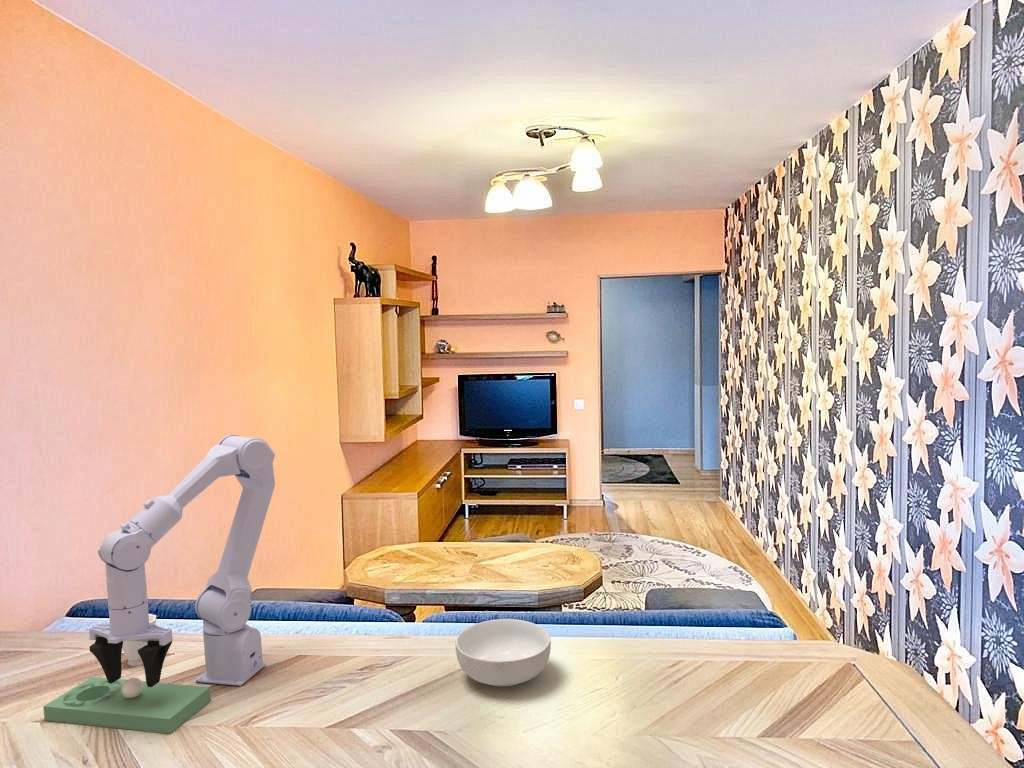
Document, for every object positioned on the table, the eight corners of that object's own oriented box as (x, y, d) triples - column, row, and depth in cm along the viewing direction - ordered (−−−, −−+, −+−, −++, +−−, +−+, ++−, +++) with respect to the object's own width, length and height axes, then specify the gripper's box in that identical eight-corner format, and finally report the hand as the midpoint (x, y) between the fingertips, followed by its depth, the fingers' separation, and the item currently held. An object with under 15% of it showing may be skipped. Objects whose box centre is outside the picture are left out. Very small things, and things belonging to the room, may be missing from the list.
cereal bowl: (440, 691, 120) (438, 651, 120) (480, 649, 136) (478, 614, 135) (532, 708, 114) (531, 666, 114) (563, 662, 129) (562, 625, 129)
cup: (125, 673, 131) (121, 631, 131) (110, 656, 138) (107, 616, 138) (165, 660, 136) (162, 619, 135) (149, 644, 143) (146, 606, 143)
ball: (148, 692, 119) (146, 674, 118) (134, 702, 115) (132, 684, 115) (132, 691, 119) (130, 673, 119) (117, 701, 116) (116, 682, 116)
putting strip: (210, 700, 120) (209, 687, 120) (170, 733, 110) (169, 719, 110) (93, 689, 125) (91, 676, 125) (44, 720, 116) (43, 706, 115)
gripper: (71, 610, 114) (78, 690, 115) (148, 615, 111) (154, 698, 112) (105, 594, 121) (111, 670, 122) (178, 598, 117) (184, 676, 118)
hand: (134, 682), depth 117 cm, fingers open, 7 cm apart
